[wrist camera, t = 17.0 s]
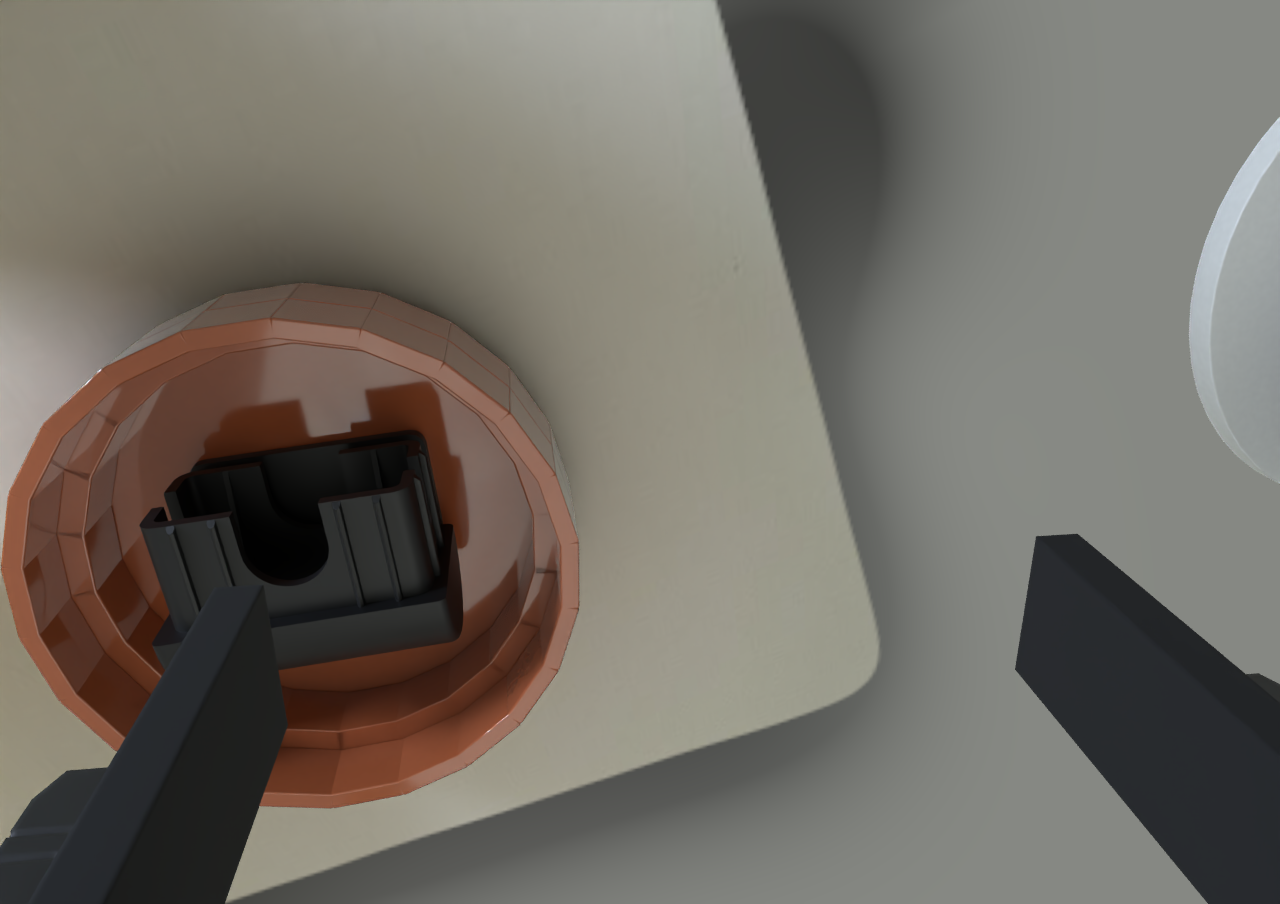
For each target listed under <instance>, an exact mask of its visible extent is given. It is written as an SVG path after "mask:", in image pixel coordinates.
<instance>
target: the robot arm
mask: <svg viewBox="0 0 1280 904" xmlns="http://www.w3.org/2000/svg"><path fill="white" fill-rule="evenodd" d="M1015 670H1016V671H1017V672H1018V673H1019V675H1020V676H1021V677H1022V678H1023V679H1024V681H1025V682H1026V683H1027V684H1028V686H1029V687H1030V688H1031V689H1032V690H1033V692H1034V693H1035V694H1036V695H1037V697H1038V698H1039V699H1040V700H1041V701H1042V703H1043V704H1044V705H1045V706H1046V707H1047V709H1048V710H1049V711H1050V712H1051V713H1052V715H1053V716H1054V717H1055V718H1056V719H1057V721H1058V722H1059V723H1060V724H1061V726H1062V727H1063V728H1064V729H1065V730H1066V732H1067V733H1068V734H1069V735H1070V737H1071V738H1072V739H1073V740H1074V741H1075V743H1076V744H1077V745H1078V746H1079V748H1080V749H1081V750H1082V751H1083V752H1084V754H1085V755H1086V756H1087V757H1088V758H1089V760H1090V761H1091V762H1092V763H1093V765H1094V766H1095V767H1096V768H1097V769H1098V770H1099V772H1100V773H1101V774H1102V775H1103V777H1104V778H1105V779H1106V780H1107V781H1108V783H1109V784H1110V785H1111V786H1112V788H1113V789H1114V790H1115V791H1116V792H1117V794H1118V795H1119V796H1120V797H1121V798H1122V800H1123V801H1124V802H1125V803H1126V804H1127V806H1128V807H1129V808H1130V809H1131V811H1132V812H1133V813H1134V814H1135V816H1136V817H1137V818H1138V819H1139V820H1140V821H1141V823H1142V824H1143V825H1144V826H1145V828H1146V829H1147V830H1148V831H1149V833H1150V834H1151V835H1152V836H1153V837H1154V838H1155V840H1156V841H1157V842H1158V843H1159V845H1160V846H1161V847H1162V848H1163V849H1164V851H1165V852H1166V853H1167V854H1168V856H1169V857H1170V858H1171V859H1172V860H1173V862H1174V863H1175V864H1176V865H1177V867H1178V868H1179V869H1180V870H1181V871H1182V873H1183V874H1184V875H1185V876H1186V877H1187V879H1188V880H1189V881H1190V882H1191V884H1192V885H1193V886H1194V887H1195V888H1196V890H1197V891H1198V892H1199V893H1200V894H1201V896H1202V897H1203V898H1204V899H1205V900H1206V902H1207V903H1208V904H1280V684H1278V683H1276V682H1274V681H1272V680H1270V679H1268V678H1266V677H1264V676H1262V675H1260V674H1245V673H1243V672H1242V671H1241V670H1240V669H1239V668H1238V667H1236V666H1235V665H1234V664H1233V663H1232V662H1230V661H1229V660H1228V659H1227V658H1226V657H1224V656H1223V655H1222V654H1221V653H1220V652H1218V651H1217V650H1216V649H1215V648H1214V647H1212V646H1211V645H1210V644H1209V643H1208V642H1207V641H1205V640H1204V639H1203V638H1202V637H1201V636H1199V635H1198V634H1197V633H1196V632H1194V631H1193V630H1192V629H1191V628H1190V627H1189V626H1187V625H1186V624H1185V623H1184V622H1183V621H1181V620H1180V619H1179V618H1178V617H1177V616H1175V615H1174V614H1173V613H1172V612H1170V611H1169V610H1168V609H1167V608H1166V607H1165V606H1163V605H1162V604H1161V603H1160V602H1159V601H1157V600H1156V599H1155V598H1154V597H1153V596H1151V595H1150V594H1149V593H1148V592H1146V591H1145V590H1144V589H1143V588H1142V587H1140V586H1139V585H1138V584H1137V583H1136V582H1135V581H1133V580H1132V579H1131V578H1130V577H1129V576H1127V575H1126V574H1125V573H1124V572H1123V571H1121V570H1120V569H1119V568H1118V567H1117V566H1115V565H1114V564H1113V563H1112V562H1111V561H1109V560H1108V559H1107V558H1106V557H1105V556H1103V555H1102V554H1101V553H1100V552H1099V551H1097V550H1096V549H1095V548H1094V547H1093V546H1091V545H1090V544H1089V543H1088V542H1087V541H1085V540H1084V539H1083V538H1082V537H1080V536H1079V535H1078V534H1069V535H1068V534H1067V535H1051V536H1037V537H1036V541H1035V547H1034V554H1033V560H1032V566H1031V573H1030V579H1029V585H1028V591H1027V598H1026V604H1025V610H1024V616H1023V623H1022V629H1021V636H1020V642H1019V648H1018V654H1017V661H1016V668H1015ZM287 727H288V723H287V717H286V711H285V705H284V699H283V694H282V688H281V682H280V676H279V671H278V665H277V659H276V653H275V648H274V642H273V636H272V630H271V625H270V619H269V613H268V607H267V602H266V596H265V590H264V585H248V586H232V587H216V588H214V589H213V591H212V592H211V594H210V596H209V597H208V599H207V601H206V602H205V604H204V606H203V608H202V609H201V611H200V613H199V614H198V616H197V618H196V619H195V621H194V623H193V624H192V626H191V628H190V630H189V631H188V633H187V635H186V636H185V638H184V640H183V641H182V643H181V645H180V646H179V648H178V650H177V651H176V653H175V655H174V657H173V658H172V660H171V662H170V663H169V665H168V667H167V668H166V670H165V672H164V673H163V675H162V677H161V679H160V680H159V682H158V684H157V685H156V687H155V689H154V690H153V692H152V694H151V695H150V697H149V699H148V700H147V702H146V704H145V706H144V707H143V709H142V711H141V712H140V714H139V716H138V717H137V719H136V721H135V722H134V724H133V726H132V728H131V729H130V731H129V733H128V734H127V736H126V738H125V739H124V741H123V743H122V744H121V746H120V748H119V750H118V751H117V753H116V755H115V756H114V758H113V760H112V761H111V763H110V765H109V766H108V767H107V768H95V769H82V770H70V771H66V772H65V773H64V774H62V775H61V776H60V777H59V778H57V779H56V780H55V781H54V782H53V783H51V784H50V785H49V786H48V787H47V788H45V789H44V790H43V791H42V792H40V793H39V794H38V795H37V796H36V797H34V798H33V799H32V800H31V802H30V803H29V805H28V806H27V808H26V809H25V811H24V812H23V814H22V815H21V816H20V818H19V819H18V821H17V822H16V824H15V825H14V827H13V828H12V830H11V831H10V832H11V835H10V838H6V839H5V840H4V842H3V843H2V845H1V846H0V904H225V901H226V898H227V896H228V893H229V890H230V887H231V884H232V881H233V879H234V876H235V873H236V870H237V867H238V865H239V862H240V859H241V856H242V853H243V851H244V848H245V845H246V842H247V839H248V836H249V834H250V831H251V828H252V825H253V822H254V820H255V817H256V814H257V811H258V808H259V805H260V803H261V800H262V797H263V794H264V791H265V789H266V786H267V783H268V780H269V777H270V775H271V772H272V769H273V766H274V763H275V760H276V758H277V755H278V752H279V749H280V746H281V744H282V741H283V738H284V735H285V732H286V729H287Z"/></svg>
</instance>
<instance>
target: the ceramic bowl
mask: <svg viewBox="0 0 1280 904" xmlns="http://www.w3.org/2000/svg"><path fill="white" fill-rule="evenodd" d="M404 430H416V431H418V432H420V433H421V434H423V436H424V438H425V440H426V442H427V447H428V452H429V456H430V461H431V466H432V471H433V476H434V481H435V485H436V490H437V495H438V500H439V505H440V510H441V514H442V520H443V524H452V525H453V527H454V532H455V537H456V543H457V549H458V556H459V563H460V572H461V581H462V594H463V627H462V632H461V635H460V637H459V638H458V639H457V640H455V641H453V642H449V643H442V644H436V645H430V646H424V647H418V648H412V649H406V650H400V651H394V652H387V653H381V654H375V655H369V656H363V657H357V658H351V659H345V660H339V661H333V662H326V663H320V664H314V665H308V666H302V667H296V668H290V669H284V670H278V671H279V676H280V682H281V688H282V694H283V699H284V705H285V711H286V717H287V723H288V727H287V729H286V732H285V735H284V738H283V741H282V744H281V746H280V749H279V752H278V755H277V758H276V760H275V763H274V766H273V769H272V772H271V775H270V777H269V780H268V783H267V786H266V789H265V791H264V794H263V797H262V800H261V803H260V805H259V806H272V807H304V808H337V807H342V806H348V805H353V804H358V803H363V802H369V801H374V800H379V799H384V798H390V797H395V796H400V795H403V794H407V793H410V792H412V791H414V790H416V789H419V788H421V787H423V786H425V785H428V784H430V783H432V782H434V781H437V780H439V779H441V778H443V777H445V776H448V775H450V774H452V773H454V772H457V771H459V770H461V769H463V768H466V767H467V766H469V765H470V764H472V763H473V762H474V761H475V760H477V759H478V758H479V757H480V756H482V755H483V754H484V753H485V752H487V751H488V750H489V749H490V748H492V747H493V746H494V745H495V744H497V743H498V742H499V741H500V740H502V739H503V738H504V737H505V736H507V735H508V734H509V733H510V732H512V731H513V730H514V729H515V728H517V727H518V726H519V725H520V724H521V723H522V722H523V720H524V719H525V717H526V716H527V715H528V713H529V712H530V710H531V709H532V708H533V706H534V705H535V703H536V702H537V700H538V699H539V698H540V696H541V695H542V693H543V692H544V691H545V689H546V688H547V686H548V685H549V684H550V682H551V681H552V679H553V678H554V677H555V675H556V674H557V672H558V670H559V669H560V666H561V663H562V660H563V657H564V654H565V651H566V648H567V645H568V642H569V639H570V636H571V632H572V629H573V626H574V623H575V620H576V617H577V614H578V611H579V539H578V533H577V527H576V520H575V514H574V508H573V502H572V496H571V489H570V484H569V480H568V477H567V474H566V471H565V468H564V465H563V462H562V459H561V456H560V453H559V450H558V447H557V444H556V441H555V438H554V435H553V432H552V429H551V426H550V424H549V423H548V420H547V418H546V417H545V416H544V414H543V413H542V411H541V410H540V409H539V407H538V406H537V404H536V403H535V402H534V400H533V399H532V397H531V396H530V395H529V393H528V392H527V391H526V389H525V388H524V386H523V385H522V384H521V382H520V381H519V379H518V378H517V377H516V375H515V374H514V372H513V371H512V370H511V368H508V365H507V364H505V363H504V362H503V361H501V360H500V359H499V358H498V357H496V356H495V355H494V354H493V353H491V352H490V351H489V350H487V349H486V348H485V347H484V346H482V345H481V344H480V343H478V342H477V341H476V340H475V339H473V338H472V337H471V336H470V335H468V334H467V333H466V332H464V331H463V330H462V329H461V328H459V327H458V326H457V325H455V324H454V323H452V322H450V321H449V320H447V319H444V318H442V317H439V316H437V315H435V314H432V313H430V312H427V311H425V310H423V309H420V308H418V307H415V306H413V305H410V304H408V303H406V302H403V301H401V300H398V299H396V298H394V297H391V296H389V295H386V294H384V293H379V292H376V291H368V290H360V289H352V288H344V287H336V286H328V285H320V284H312V283H294V284H287V285H280V286H274V287H267V288H261V289H254V290H247V291H241V292H234V293H227V294H226V295H225V294H223V295H221V296H219V297H217V298H215V299H213V300H210V301H208V302H206V303H204V304H202V305H200V306H198V307H196V308H193V309H191V310H189V311H187V312H185V313H183V314H181V315H179V316H177V317H174V318H172V319H170V320H168V321H166V322H164V323H162V324H160V325H158V326H156V327H155V328H154V329H152V330H151V331H150V332H148V333H147V334H146V335H144V336H143V337H142V338H140V339H139V340H138V341H137V342H135V343H134V344H133V345H131V346H130V347H129V348H127V349H126V350H125V351H123V352H122V353H121V354H119V355H118V356H117V357H116V358H114V359H113V360H112V361H110V362H109V363H108V364H106V365H105V366H104V367H102V368H101V369H100V370H99V371H98V372H97V373H96V374H95V375H94V376H93V377H92V378H90V379H89V380H88V381H87V382H86V383H85V384H84V385H83V386H82V387H81V388H80V389H79V390H78V391H77V392H76V393H75V394H74V395H73V396H72V397H70V398H69V399H68V400H67V401H66V402H65V403H64V404H63V405H62V406H61V407H60V408H59V409H58V410H57V411H56V412H55V413H54V414H53V415H52V416H51V417H49V418H48V419H47V420H46V421H45V422H44V423H43V425H42V426H41V428H40V430H39V432H38V434H37V436H36V438H35V440H34V442H33V444H32V446H31V448H30V450H29V452H28V454H27V456H26V458H25V460H24V462H23V464H22V466H21V468H20V470H19V472H18V474H17V476H16V478H15V480H14V483H13V485H12V487H11V489H10V491H9V494H8V500H7V510H6V520H5V531H4V541H3V551H2V562H1V571H2V575H3V579H4V583H5V586H6V590H7V594H8V598H9V602H10V606H11V610H12V613H13V617H14V621H15V625H16V629H17V633H18V637H19V638H20V641H21V643H22V644H23V646H24V647H25V649H26V650H27V652H28V653H29V655H30V657H31V658H32V660H33V661H34V663H35V664H36V666H37V668H38V669H39V671H40V672H41V674H42V675H43V677H44V678H45V680H46V682H47V683H48V685H49V686H50V688H51V689H52V691H53V693H54V694H55V696H56V697H57V699H58V700H59V701H61V703H62V704H63V705H64V706H65V707H66V708H67V709H68V710H70V711H71V712H72V713H73V714H74V715H75V716H76V717H78V718H79V719H80V720H81V721H82V722H83V723H84V724H85V725H87V726H88V727H89V728H90V729H91V730H92V731H93V732H94V733H96V734H97V735H98V736H99V737H100V738H101V739H102V740H104V741H105V742H106V743H107V744H108V745H109V746H110V747H111V748H113V749H114V750H115V751H118V750H119V748H120V746H121V744H122V743H123V741H124V739H125V738H126V736H127V734H128V733H129V731H130V729H131V728H132V726H133V724H134V722H135V721H136V719H137V717H138V716H139V714H140V712H141V711H142V709H143V707H144V706H145V704H146V702H147V700H148V699H149V697H150V695H151V694H152V692H153V690H154V689H155V687H156V685H157V684H158V682H159V680H160V679H161V677H162V675H163V673H164V672H165V669H164V668H163V666H162V665H161V663H160V661H159V660H158V658H157V656H156V653H155V651H154V649H153V646H152V642H153V640H154V639H155V637H156V635H157V634H158V632H159V630H160V629H161V627H162V625H163V624H164V622H165V620H166V619H167V617H168V615H169V614H170V613H169V610H168V607H167V604H166V601H165V598H164V595H163V592H162V590H161V587H160V584H159V581H158V578H157V575H156V572H155V569H154V566H153V563H152V560H151V558H150V555H149V552H148V549H147V546H146V543H145V540H144V537H143V534H142V531H141V528H140V526H139V525H140V523H141V521H142V520H143V519H144V518H145V516H146V515H147V514H148V512H149V511H150V510H151V509H152V508H158V507H164V509H165V512H166V515H167V518H168V521H171V520H172V519H171V516H170V513H169V510H168V507H167V504H166V501H165V498H164V492H165V491H166V490H167V488H168V487H169V486H170V484H171V483H172V482H173V481H174V480H175V479H176V478H177V477H179V476H181V475H184V474H186V473H189V472H190V471H191V469H192V468H193V466H194V465H195V464H196V463H197V462H199V461H201V460H205V459H211V458H218V457H225V456H232V455H239V454H246V453H253V452H260V451H266V450H273V449H280V448H287V447H294V446H301V445H308V444H315V443H322V442H328V441H335V440H342V439H349V438H356V437H363V436H370V435H377V434H383V433H390V432H397V431H404Z"/></svg>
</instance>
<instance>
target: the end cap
mask: <svg viewBox="0 0 1280 904" xmlns="http://www.w3.org/2000/svg"><path fill="white" fill-rule="evenodd" d="M164 498H165V501H166V504H167V507H168V510H169V513H170V516H171V519H172V520H171V521H168V518H167V515H166V512H165V509H164V507H158V508H152V509H151V510H150V511H149V512H148V514H147V515H146V516H145V518H144V519H143V520H142V521H141V523H140V525H139V526H140V528H141V531H142V534H143V537H144V540H145V543H146V546H147V549H148V552H149V555H150V558H151V560H152V563H153V566H154V569H155V572H156V575H157V578H158V581H159V584H160V587H161V590H162V592H163V595H164V598H165V601H166V604H167V607H168V610H169V613H170V614H169V615H168V617H167V619H166V620H165V622H164V624H163V625H162V627H161V629H160V630H159V632H158V634H157V635H156V637H155V639H154V640H153V642H152V646H153V649H154V651H155V653H156V656H157V658H158V660H159V661H160V663H161V665H162V666H163V668H164V669H165V670H166V668H167V667H168V665H169V663H170V662H171V660H172V658H173V657H174V655H175V653H176V651H177V650H178V648H179V646H180V645H181V643H182V641H183V640H184V638H185V636H186V635H187V633H188V631H189V630H190V628H191V626H192V624H193V623H194V621H195V619H196V618H197V616H198V614H199V613H200V611H201V609H202V608H203V606H204V604H205V602H206V601H207V599H208V597H209V596H210V594H211V592H212V591H213V589H214V588H216V587H232V586H248V585H264V590H265V596H266V602H267V607H268V613H269V619H270V625H271V630H272V636H273V642H274V648H275V653H276V659H277V665H278V670H284V669H290V668H296V667H302V666H308V665H314V664H320V663H326V662H333V661H339V660H345V659H351V658H357V657H363V656H369V655H375V654H381V653H387V652H394V651H400V650H406V649H412V648H418V647H424V646H430V645H436V644H442V643H449V642H453V641H455V640H457V639H458V638H459V637H460V635H461V632H462V627H463V594H462V581H461V572H460V563H459V556H458V549H457V543H456V537H455V532H454V527H453V525H452V524H443V520H442V514H441V510H440V505H439V500H438V495H437V490H436V485H435V481H434V476H433V471H432V466H431V461H430V456H429V452H428V447H427V442H426V440H425V438H424V436H423V434H421V433H420V432H418V431H416V430H404V431H397V432H390V433H383V434H377V435H370V436H363V437H356V438H349V439H342V440H335V441H328V442H322V443H315V444H308V445H301V446H294V447H287V448H280V449H273V450H266V451H260V452H253V453H246V454H239V455H232V456H225V457H218V458H211V459H205V460H201V461H199V462H197V463H196V464H195V465H194V466H193V468H192V469H191V471H190V472H189V473H186V474H184V475H181V476H179V477H177V478H176V479H175V480H174V481H173V482H172V483H171V484H170V486H169V487H168V488H167V490H166V491H165V492H164Z"/></svg>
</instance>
